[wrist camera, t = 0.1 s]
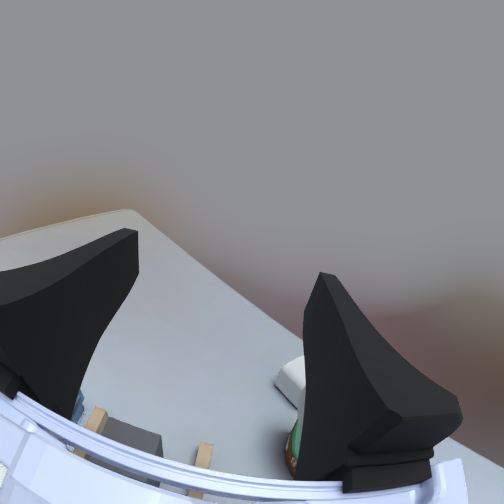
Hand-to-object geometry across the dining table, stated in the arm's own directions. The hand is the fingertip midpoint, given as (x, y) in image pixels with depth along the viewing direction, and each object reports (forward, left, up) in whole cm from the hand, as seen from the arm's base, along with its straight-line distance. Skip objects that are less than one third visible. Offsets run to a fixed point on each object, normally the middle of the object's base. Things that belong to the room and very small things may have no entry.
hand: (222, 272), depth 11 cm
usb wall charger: (+11, -11, -22) cm, 27 cm away
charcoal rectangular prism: (-3, +4, -22) cm, 22 cm away
